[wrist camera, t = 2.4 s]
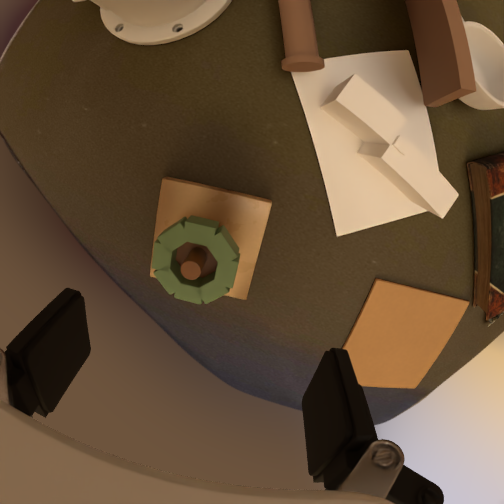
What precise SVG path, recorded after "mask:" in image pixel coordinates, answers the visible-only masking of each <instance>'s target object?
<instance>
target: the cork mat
mask: <svg viewBox="0 0 504 504" xmlns="http://www.w3.org/2000/svg"><path fill="white" fill-rule="evenodd" d="M469 303H470V302H469V301H468V300H463V299H459V298H455V297H451V296H447V295H443V294H439V293H435V292H431V291H427V290H423V289H419V288H414V287H410V286H406V285H402V284H398V283H394V282H390V281H386V280H382V279H377V278H376V279H375V281H374V283H373V285H372V288H371V290H370V292H369V294H368V297H367V299H366V301H365V303H364V305H363V307H362V309H361V312H360V314H359V316H358V318H357V320H356V322H355V324H354V326H353V328H352V330H351V332H350V334H349V336H348V338H347V340H346V342H345V344H344V346H343V347H342V349H346V350H347V351H348V354H349V357H350V360H351V363H352V366H353V369H354V372H355V375H356V378H357V381H358V384H360V385H361V386H370V387H389V388H416V386H417V385H418V384H419V382H420V381H421V380H422V378H423V377H424V376H425V374H426V373H427V371H428V370H429V369H430V367H431V366H432V364H433V363H434V361H435V360H436V358H437V357H438V355H439V354H440V352H441V351H442V349H443V348H444V346H445V344H446V343H447V341H448V340H449V338H450V336H451V335H452V333H453V331H454V330H455V328H456V326H457V325H458V323H459V321H460V319H461V318H462V316H463V314H464V312H465V310H466V308H467V306H468V305H469Z"/></svg>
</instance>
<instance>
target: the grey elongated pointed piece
mask: <svg viewBox="0 0 504 504" xmlns="http://www.w3.org/2000/svg"><path fill="white" fill-rule="evenodd" d="M503 313H504V312H503ZM503 313H502V314H503ZM502 314H500V315H502ZM498 315H499V314H498ZM498 315H496V316H494V317H492V318H495V320H496V319H497V318H499V316H500V315H499V316H498ZM492 318H490V319H489V322H490V323H491V324H492V323H493V322H494V321H495V320H494V321H493V319H492ZM491 324H489V325H488V326H487V327H489V326H490V325H491Z"/></svg>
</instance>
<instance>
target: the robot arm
mask: <svg viewBox="0 0 504 504" xmlns="http://www.w3.org/2000/svg"><path fill="white" fill-rule="evenodd" d="M72 1H73V2H80V1H86V0H72ZM90 1H92V2H93V3H95V4H97V5H98V6H100V13H101V18H102V21H103V23H104V25H105V27H106V28H107V29H108V30H109V31H110V32H111V33H112V34H113V35H115V36H117V37H118V38H120V39H122V40H124V41H126V42H129V43H133V44H138V45H157V44H165V43H169V42H173V41H176V40H180V39H182V38H184V37H187V36H189V35H192V34H194V33H196V32H197V31H199V30H201V29H203V28H204V27H206V26H207V25H209V24H210V23H211V22H213V21H214V20H215V19H217V18H218V17H219V16H220V15H221V13H222V12H223V11H224V10H225V9H226V8H227V7H228V5H229V4H230V2H231V1H232V0H90ZM179 29H182V30H181V31H180V32H178V30H179ZM6 348H7V350H6V351H5V352H4V351H3V350H2V349H0V504H443V502H444V495H443V492H442V490H441V489H440V487H438V486H437V485H436V484H434V483H433V482H431V481H429V480H427V479H426V478H424V477H423V476H421V475H419V474H418V473H416V472H414V471H413V470H411V469H410V468H408V467H406V466H405V465H403V464H404V454H403V452H402V450H401V448H400V447H399V446H398V445H397V444H395V443H394V442H392V441H389V440H383V439H382V440H378V438H377V434H376V431H375V427H374V424H373V421H372V417H371V414H370V411H369V407H368V404H367V401H366V398H365V395H364V391H363V388H362V386H361V385H360V384H358V381H357V378H356V375H355V372H354V369H353V366H352V363H351V360H350V357H349V354H348V351H347V350H346V349H339V348H331V349H330V351H326V352H325V353H324V355H323V357H322V360H321V362H320V364H319V366H318V368H317V370H316V372H315V374H314V376H313V378H312V380H311V382H310V384H309V386H308V388H307V390H306V392H305V394H304V396H303V399H302V409H303V418H304V427H305V428H304V429H305V439H306V449H307V460H308V470H309V474H310V475H311V476H313V481H314V482H324V487H325V488H326V489H325V490H288V489H271V488H259V487H247V486H239V485H231V484H224V483H218V482H212V481H207V480H201V479H196V478H191V477H186V476H182V475H178V474H174V473H170V472H166V471H162V470H158V469H155V468H151V467H147V466H144V465H141V464H137V463H135V462H132V461H128V460H125V459H123V458H120V457H117V456H114V455H111V454H109V453H106V452H103V451H101V450H98V449H96V448H93V447H91V446H89V445H86V444H84V443H81V442H79V441H77V440H75V439H73V438H71V437H68V436H66V435H64V434H62V433H60V432H58V431H56V430H54V429H52V428H50V427H48V426H46V425H44V424H42V423H41V422H39V421H37V420H35V419H33V417H32V415H33V413H34V412H36V413H38V414H40V415H42V416H43V417H46V416H47V415H48V413H49V412H53V410H54V409H55V407H56V406H57V404H58V403H59V401H60V399H61V398H62V396H63V394H64V393H65V391H66V390H67V388H68V387H69V385H70V383H71V382H72V380H73V379H74V377H75V376H76V374H77V373H78V371H79V370H80V368H81V367H82V365H83V364H84V362H85V361H86V359H87V358H88V356H89V354H90V350H91V347H90V340H89V334H88V327H87V320H86V311H85V302H84V297H83V296H81V293H80V292H79V291H76V290H73V289H70V288H66V289H64V290H63V291H62V292H61V293H60V294H59V295H58V296H57V297H56V298H55V299H54V300H53V301H52V302H50V303H49V304H48V305H47V307H45V308H44V309H43V310H42V311H41V312H40V313H39V314H38V315H37V316H36V317H35V318H34V319H33V320H32V321H31V322H30V323H29V324H28V325H27V326H26V327H25V328H24V329H23V330H22V331H21V332H20V333H19V334H18V335H17V336H16V337H15V338H14V339H13V340H12V342H11V343H10V344H9V345H8V346H7V347H6Z"/></svg>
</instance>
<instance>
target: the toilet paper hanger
mask: <svg viewBox="0 0 504 504" xmlns="http://www.w3.org/2000/svg"><path fill="white" fill-rule="evenodd" d="M278 2H279V9H280V16H281V24H282V32H283V40H284V48H285V57H286V58H285V59H283V60H282V61H281V64H282V69H283V70H285V71H290V72H311V71H317V70H321V69H323V68H324V67H325V64H324V59H323V58H321V57H319V54H318V47H317V40H316V33H315V26H314V20H313V14H312V8H311V2H310V0H278ZM405 3H406V7H407V10H408V14H409V18H410V23H411V27H412V31H413V36H414V41H415V46H416V52H417V58H418V64H419V70H420V77H421V85H422V94H423V102H424V105H425V106H429V107H438V106H440V105H443V104H445V103H448V102H450V101H453V100H455V99H458V98H460V97H463V96H466V95H468V94H471V93H473V92H476V83H475V77H474V70H473V65H472V59H471V54H470V49H469V45H468V40H467V36H466V32H465V28H464V24H463V21H462V17H461V14H460V10H459V7H458V4H457V1H456V0H405Z"/></svg>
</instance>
